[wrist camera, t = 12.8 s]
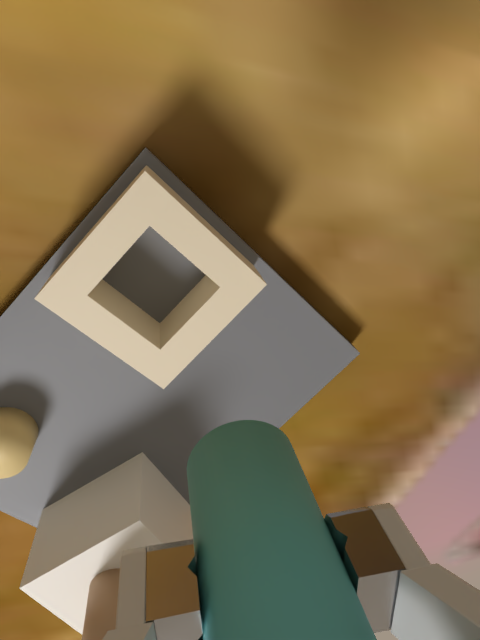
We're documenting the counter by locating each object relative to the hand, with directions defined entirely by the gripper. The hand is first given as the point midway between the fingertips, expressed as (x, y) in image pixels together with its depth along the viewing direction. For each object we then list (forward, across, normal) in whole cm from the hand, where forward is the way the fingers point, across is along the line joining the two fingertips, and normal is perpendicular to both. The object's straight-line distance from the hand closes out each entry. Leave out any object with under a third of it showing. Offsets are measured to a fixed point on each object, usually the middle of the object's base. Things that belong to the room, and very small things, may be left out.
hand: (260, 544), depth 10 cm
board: (+16, +4, +5) cm, 17 cm away
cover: (+15, +6, +13) cm, 20 cm away
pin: (+3, 0, 0) cm, 3 cm away
